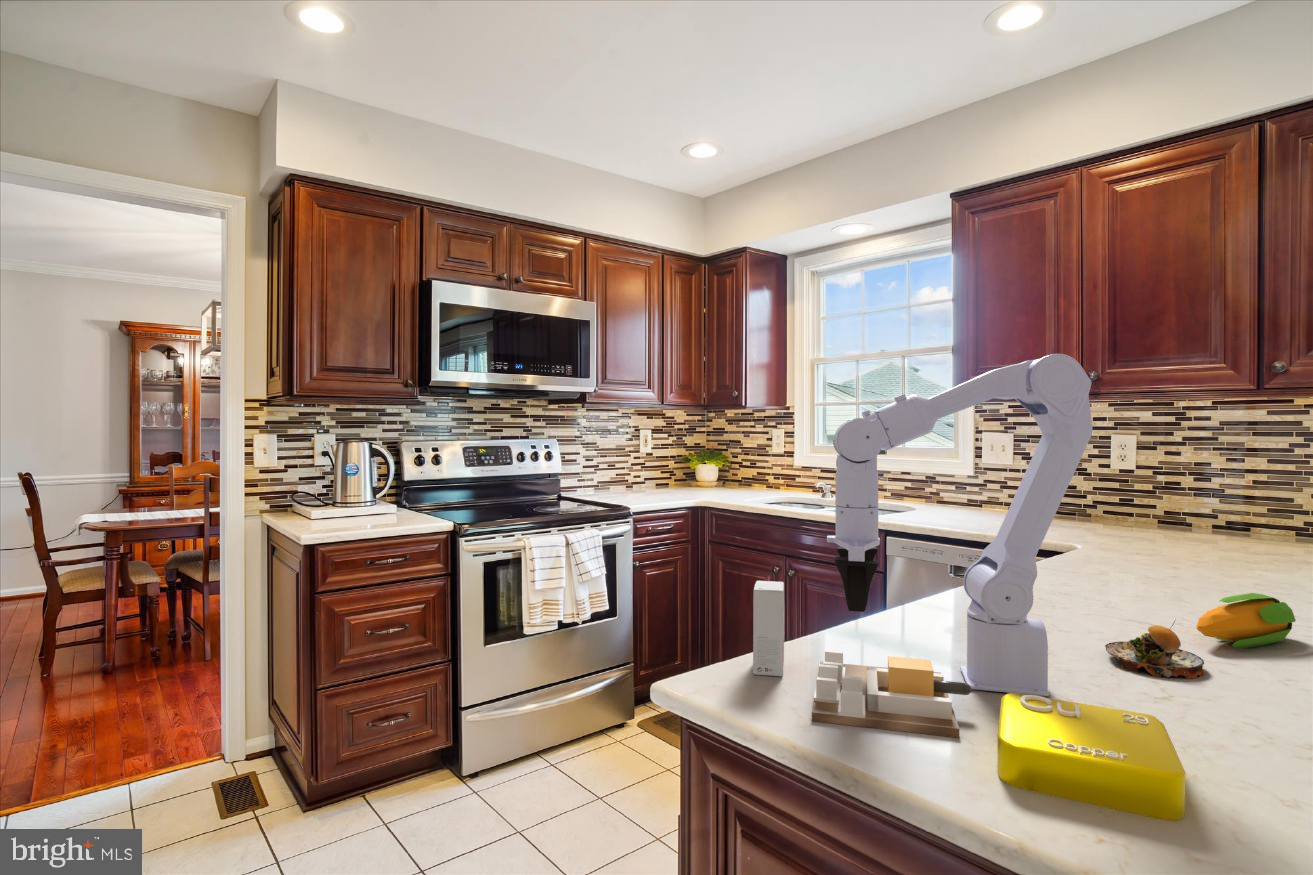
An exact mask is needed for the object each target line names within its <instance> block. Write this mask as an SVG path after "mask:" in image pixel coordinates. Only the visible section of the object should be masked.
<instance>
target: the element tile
mask: <svg viewBox="0 0 1313 875" xmlns="http://www.w3.org/2000/svg"><path fill="white" fill-rule="evenodd" d="M999 707H1000V708H999V717H998V728H997V730H998V732H997V746H996V747H997V757H996V758H997V761H996V762H997V763H996V764H997V767H996V768H997V769H996V770H997V772H996V773H997V776H998V778H999V779H1000V780H1001V782H1004V784H1007V785H1009V786H1011V787H1013V788H1017V789H1021V790H1024V791H1029V792H1033V793H1039V794H1043V795H1049V796H1053V797H1057V798H1061V799H1064V800H1065V799H1066V800H1070V801H1075V802H1080V803H1084V804H1089V805H1093V806H1099V807H1102V808H1107V809H1111V810H1115V811H1121V812H1125V813H1130V814H1133V815H1139V816H1142V817H1143V816H1144V817H1148V818H1153V819H1157V820H1164V821H1175V822H1176V821H1180V820H1183V819H1184V818H1185V817H1186V770H1185V769H1184V766H1183V764H1182V761H1181V759H1180V757H1179V755H1178V753H1177V750H1176V748H1175V746H1174V744H1173V742H1172V739H1171V737H1170V735H1169V733H1168V731H1167V729H1166V726H1165V724H1164V723H1163V722H1162V721H1160V720H1159V719H1158V718H1157V717H1155V716H1154V715H1150V714H1147V713H1142V712H1136V711H1130V710H1124V709H1123V710H1122V709H1116V708H1111V707H1106V706H1105V707H1104V706H1099V705H1092V704H1086V703H1081V702H1074V701H1068V700H1067V701H1066V700H1061V699H1053V698H1049V697H1046V696H1039V695H1028V694H1019V693H1008V692H1007V693H1006V694H1004V695H1003V696H1002V697H1001V699H1000V706H999Z"/></svg>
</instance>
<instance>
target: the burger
mask: <svg viewBox="0 0 1313 875" xmlns="http://www.w3.org/2000/svg"><path fill="white" fill-rule="evenodd" d="M1176 620H1177V619H1176V618H1175V620H1174V621H1173V623H1172V625H1171V626H1170V628H1168V627H1166V626H1162V625H1158V624H1157V625H1156V624H1153V625H1151V626H1149V627H1148V628H1147V631H1148V632H1144V633H1142V634H1141V635H1140V636H1138V637H1137V636H1136V637H1135V639H1129V640H1128V641H1114V642H1109V643H1107V644H1105V645H1104V647H1105V651H1106V652H1107V653H1108V655H1110V656H1112V657H1114V658H1115V659H1117V660H1118V661H1119V662H1120V666H1121V669H1122V670H1123V669H1125V670H1127V671H1128V672H1133V673H1136V674H1138V673H1139V672H1138V671H1139V669H1140V668H1143V669H1145V670H1146V671H1147V672H1148V673H1150V675H1152V676H1153V677H1156V678H1161V677H1164V678H1166V679H1169V678H1170V677H1173V676H1174V677H1176V678H1178V676H1183V677H1184V678H1185V679H1187V680H1189V679H1195V678H1196V677H1198V676H1199V678H1201V677H1203V676H1205V675H1206V671H1205V669H1203V668H1204V665H1205V660H1204V659H1203V658H1201V657H1200V656H1199V655H1197V654H1195V653H1193V652H1190V651H1187V650H1183V649H1180V647H1181V646H1182V644H1181V641H1180V638H1179V636H1178V635H1177V634H1176V633H1175V632H1174V631H1173V630H1172V629H1171V628H1172V627H1173V626H1174V624H1175V622H1176Z"/></svg>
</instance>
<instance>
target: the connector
mask: <svg viewBox="0 0 1313 875" xmlns="http://www.w3.org/2000/svg"><path fill="white" fill-rule="evenodd" d="M887 668H888V692H892V693H902V694H912V695H922V696H932V697H934V692H938V693H948V695H949V694H950V695H959V696H969V695H970V694H971V693H972V689H971V687H970V685H969V684H967V683H966V682H962V681H961V682H960V681H950V680H944V681H940V680H934V672H935V671H934V668H933V665H932V662H931V659H925V658H914V657H913V658H912V657H903V656H902V657H901V656H891V655H889V656H887Z"/></svg>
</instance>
